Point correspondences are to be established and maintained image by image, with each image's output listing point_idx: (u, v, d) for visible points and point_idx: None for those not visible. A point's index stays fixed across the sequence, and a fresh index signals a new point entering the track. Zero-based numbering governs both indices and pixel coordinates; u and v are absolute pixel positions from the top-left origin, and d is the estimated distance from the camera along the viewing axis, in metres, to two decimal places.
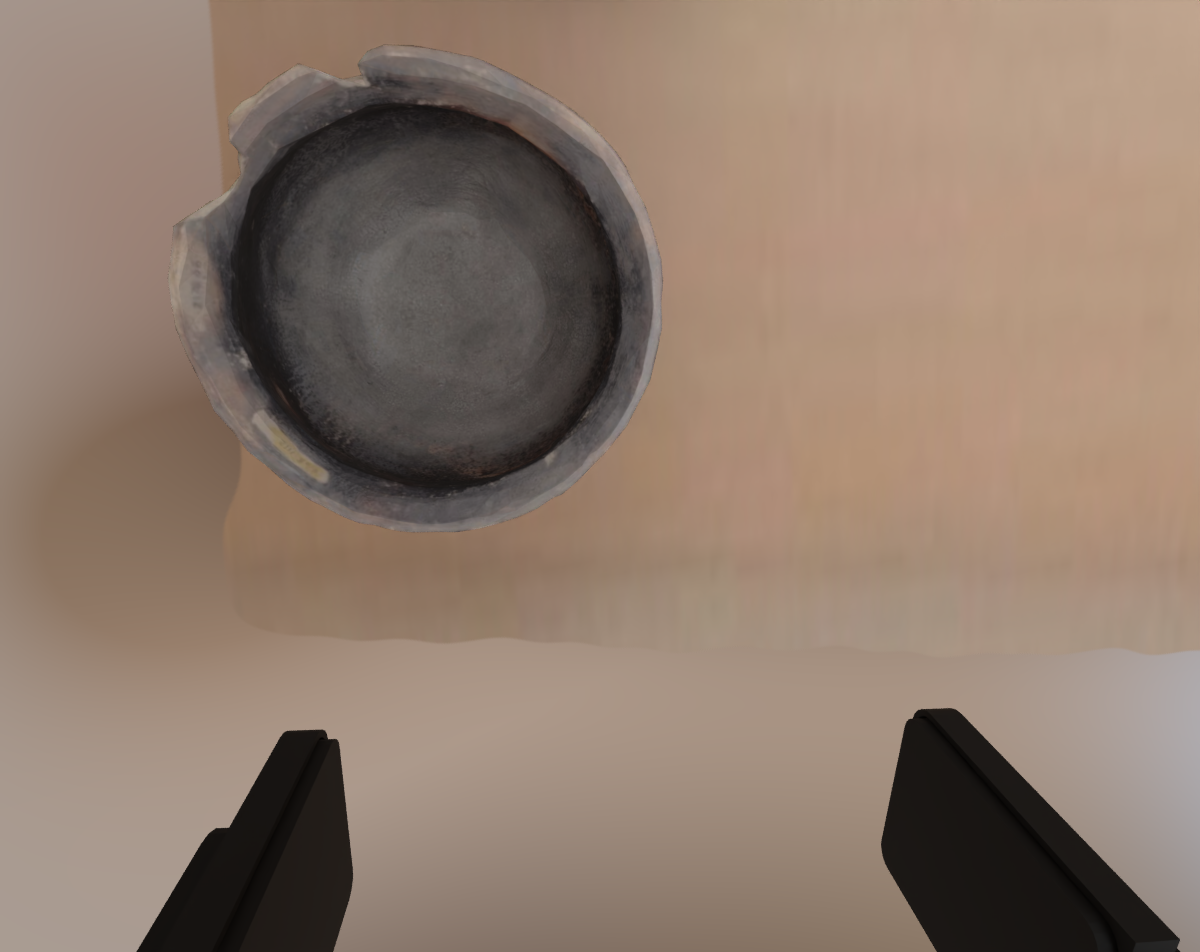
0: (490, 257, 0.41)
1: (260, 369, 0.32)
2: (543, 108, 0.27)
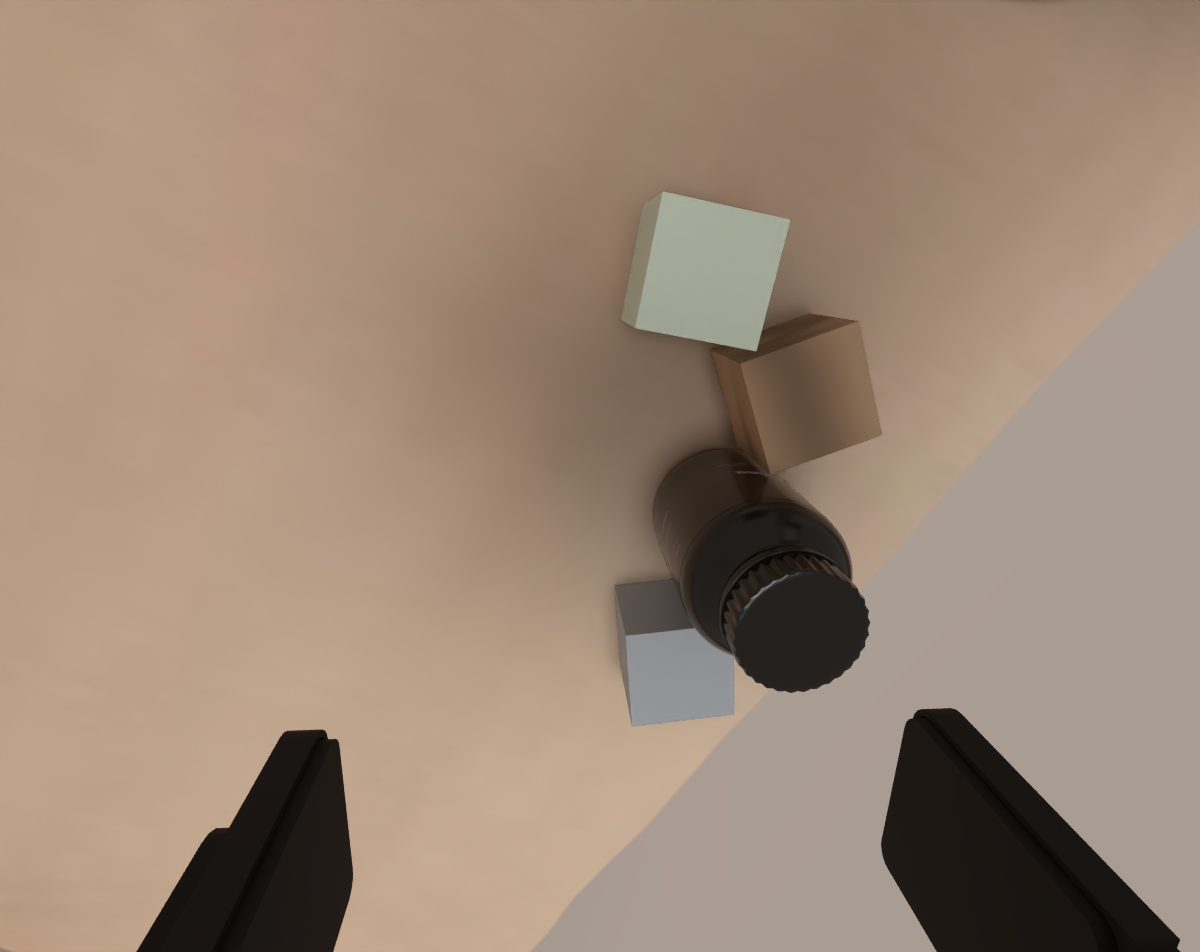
0: None
1: None
2: None
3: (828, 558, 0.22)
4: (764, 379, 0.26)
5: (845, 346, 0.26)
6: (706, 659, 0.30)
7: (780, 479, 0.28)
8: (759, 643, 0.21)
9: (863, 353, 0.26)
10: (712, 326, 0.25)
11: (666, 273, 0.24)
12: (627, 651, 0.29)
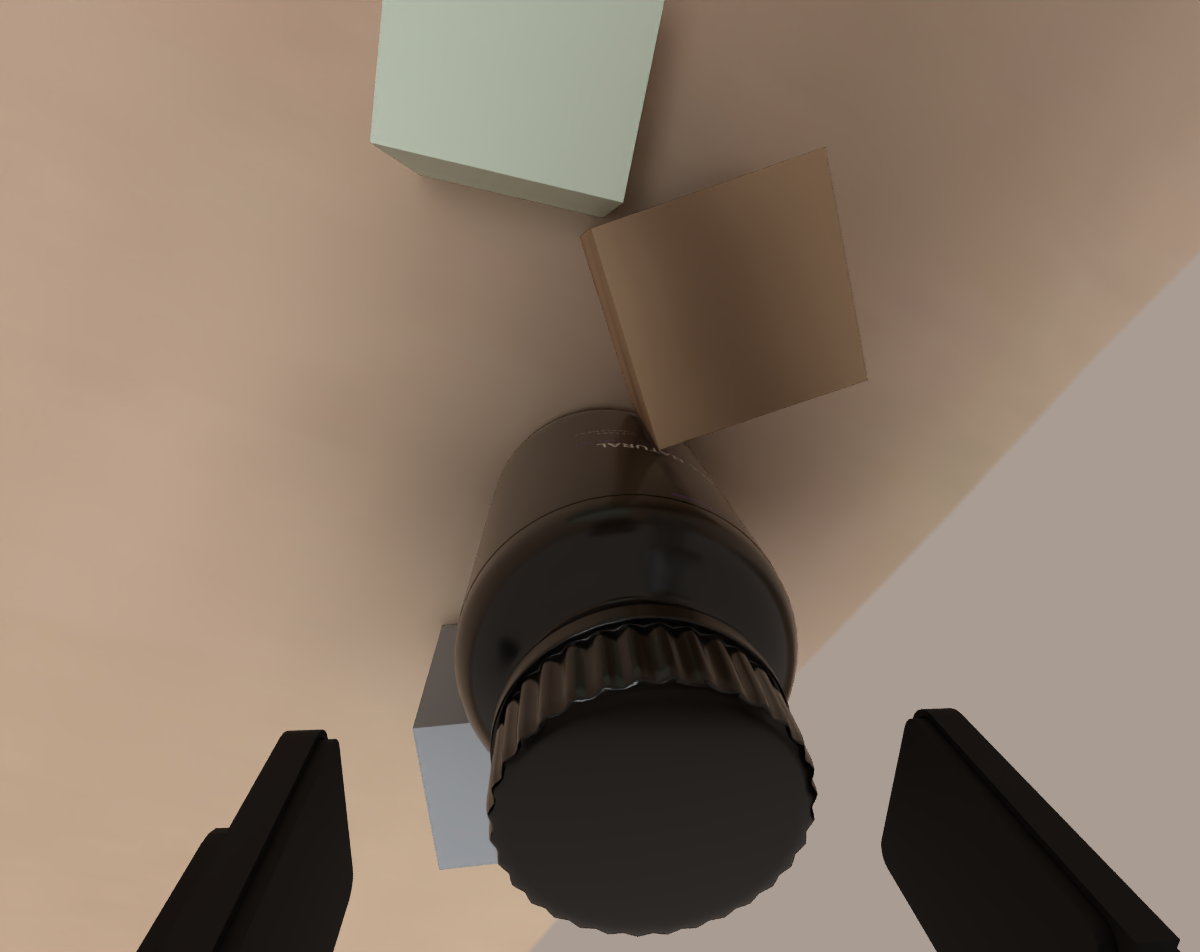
0: None
1: None
2: None
3: (730, 634, 0.10)
4: (641, 263, 0.13)
5: (799, 200, 0.13)
6: None
7: (682, 459, 0.15)
8: (552, 840, 0.09)
9: (834, 215, 0.13)
10: (529, 144, 0.12)
11: (424, 20, 0.12)
12: (419, 753, 0.17)
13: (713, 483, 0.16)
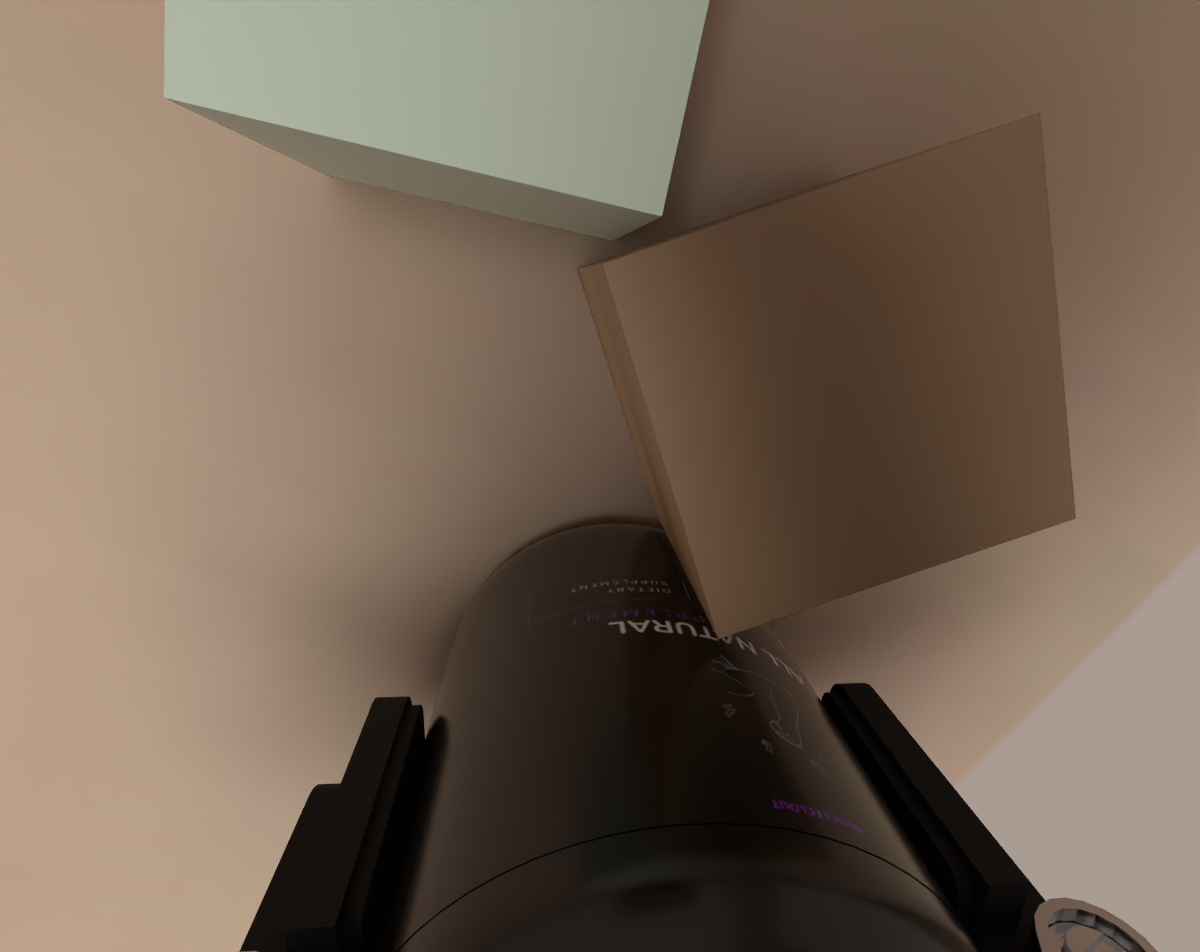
0: None
1: None
2: None
3: None
4: (695, 326, 0.07)
5: (985, 211, 0.07)
6: None
7: (751, 643, 0.09)
8: None
9: (1046, 240, 0.07)
10: (483, 104, 0.06)
11: None
12: None
13: (800, 675, 0.10)
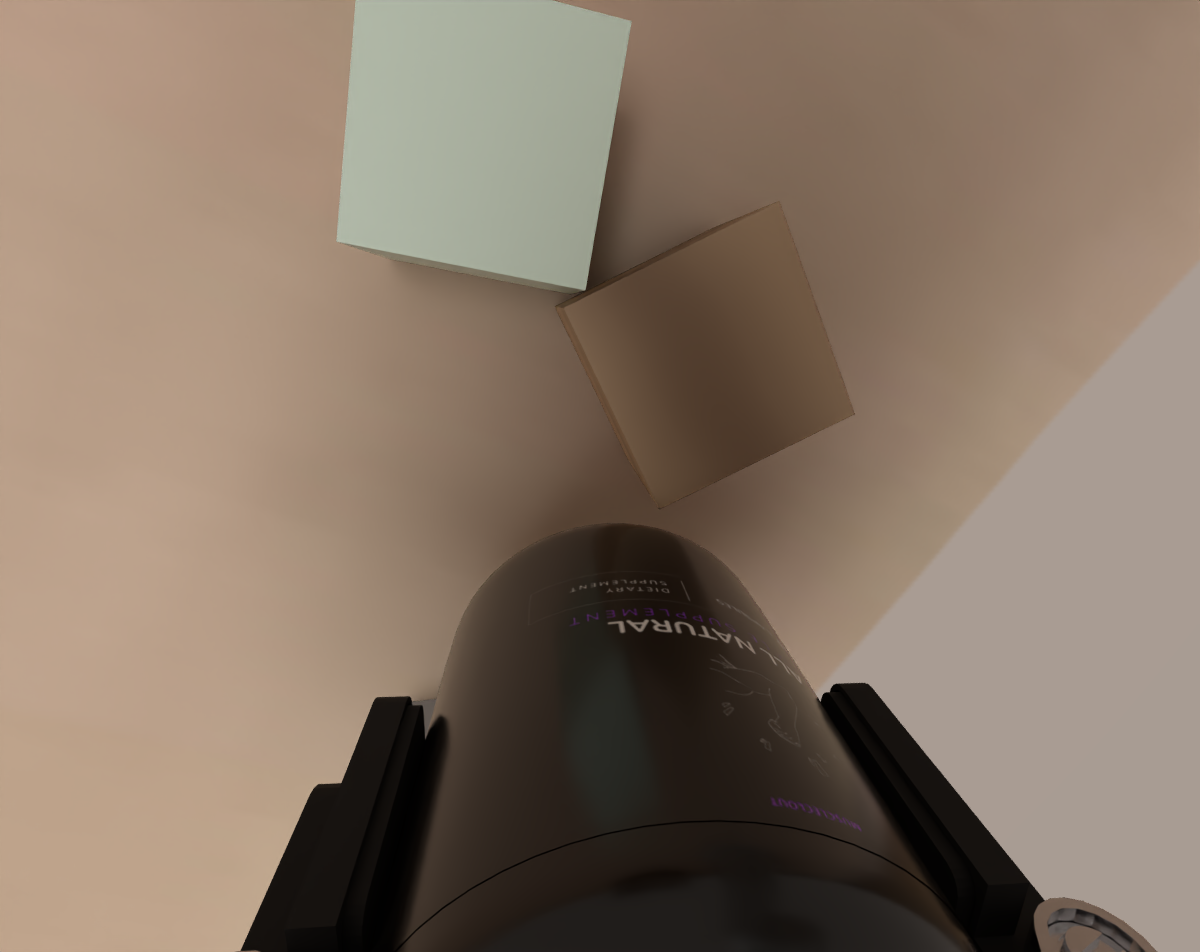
0: None
1: None
2: None
3: None
4: (617, 333, 0.14)
5: (761, 253, 0.13)
6: None
7: (750, 642, 0.09)
8: None
9: (798, 263, 0.14)
10: (492, 239, 0.13)
11: (387, 128, 0.12)
12: None
13: (799, 674, 0.10)
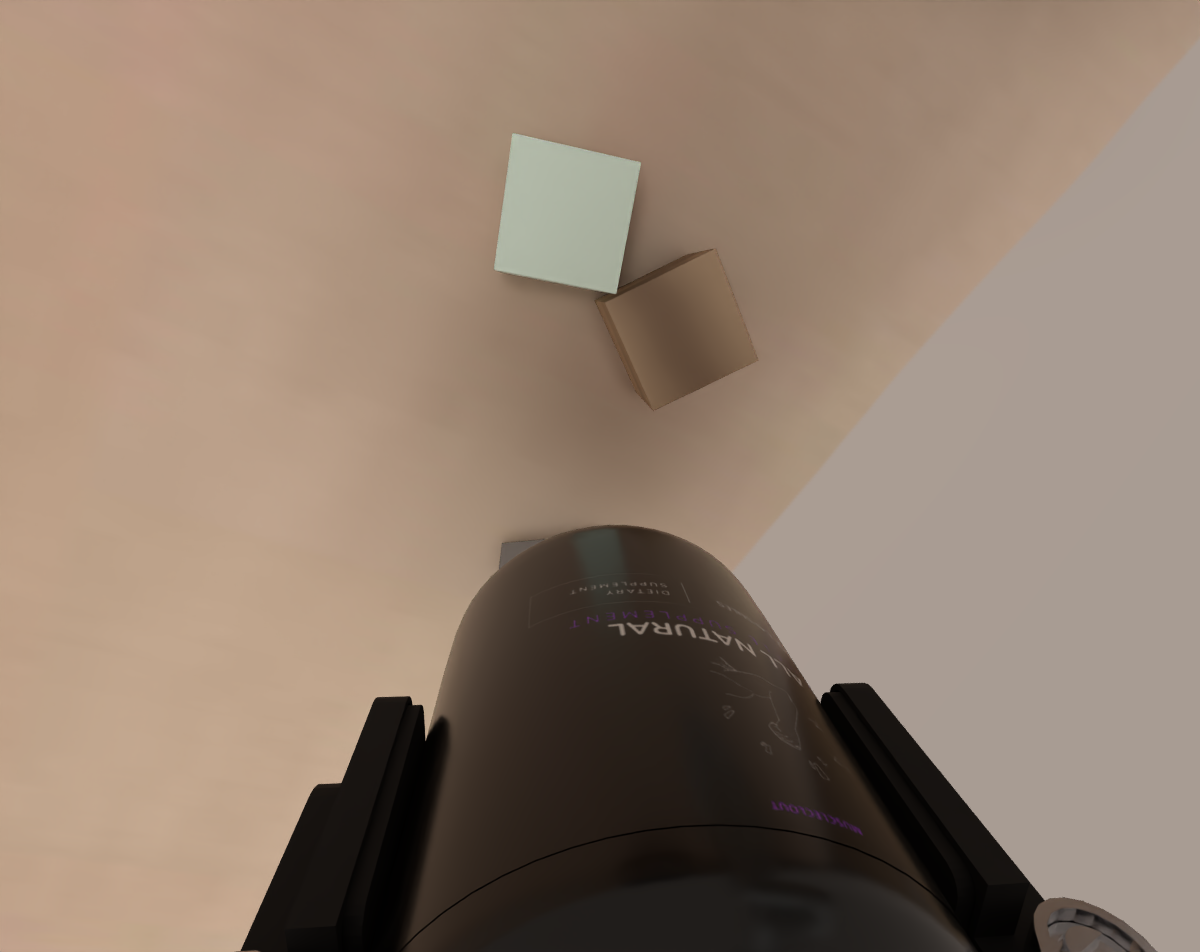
0: None
1: None
2: None
3: None
4: (632, 316, 0.26)
5: (707, 275, 0.26)
6: None
7: (750, 644, 0.09)
8: None
9: (726, 280, 0.26)
10: (570, 268, 0.26)
11: (521, 214, 0.25)
12: None
13: (799, 677, 0.10)
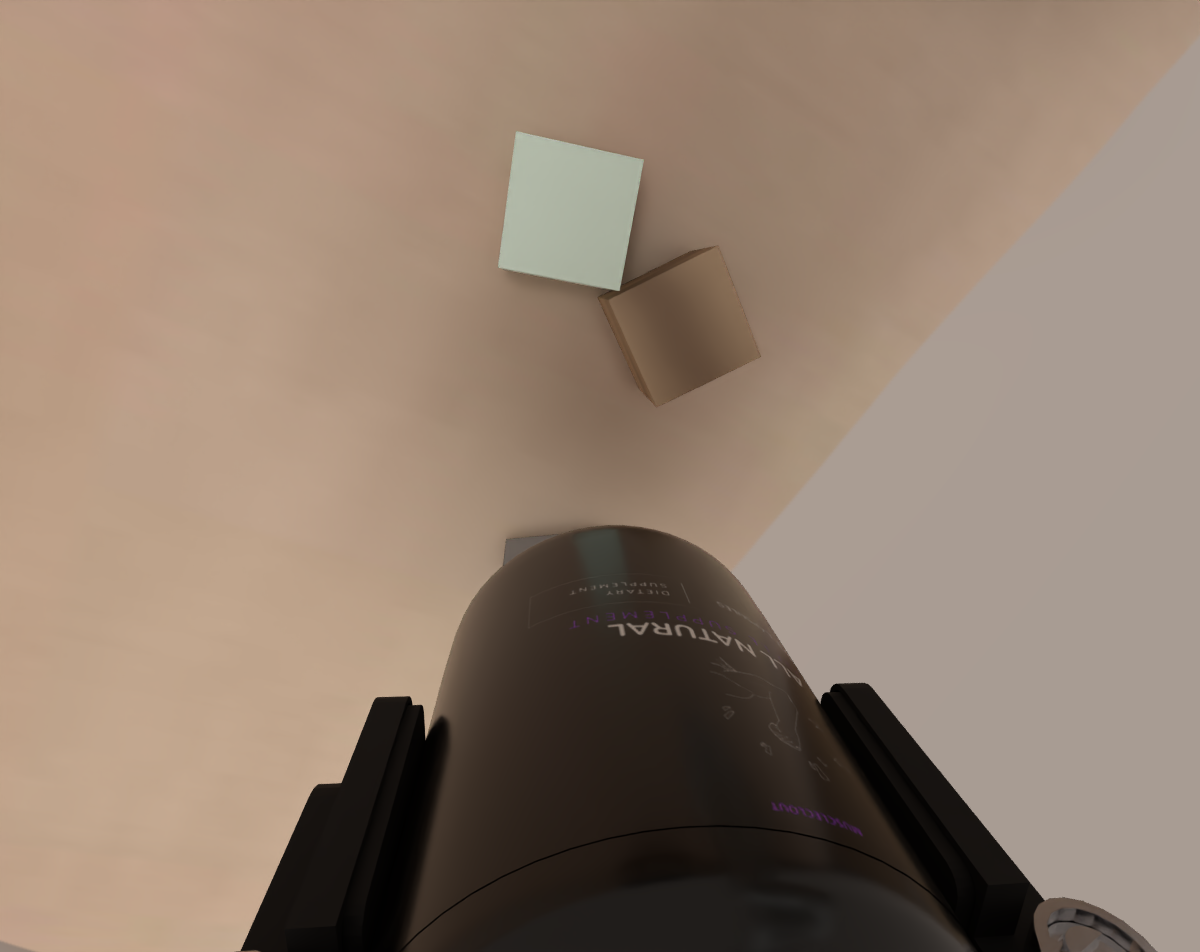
0: None
1: None
2: None
3: None
4: (635, 313, 0.26)
5: (709, 272, 0.26)
6: None
7: (750, 645, 0.09)
8: None
9: (728, 277, 0.26)
10: (574, 265, 0.26)
11: (524, 212, 0.25)
12: None
13: (799, 677, 0.10)
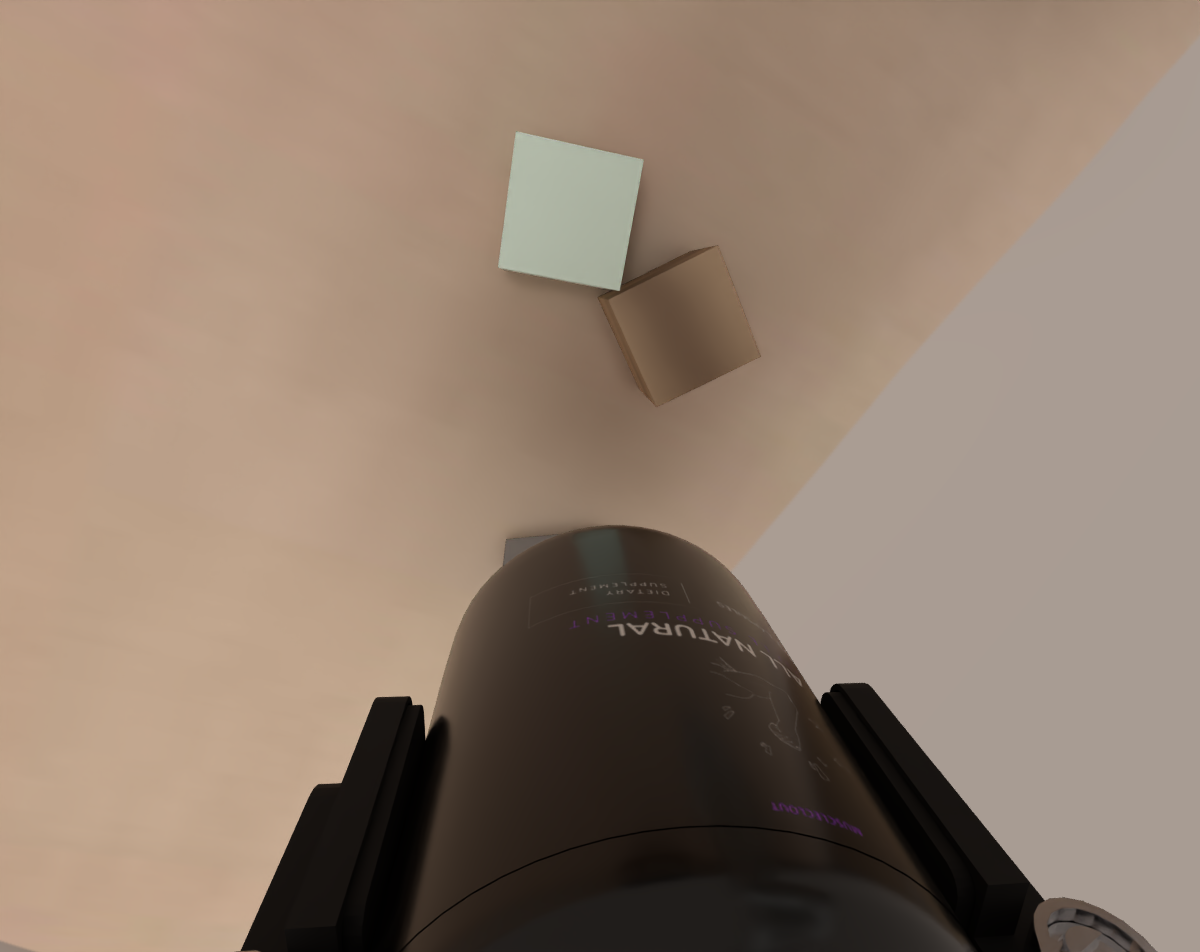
0: None
1: None
2: None
3: None
4: (635, 313, 0.26)
5: (709, 272, 0.26)
6: None
7: (750, 645, 0.09)
8: None
9: (728, 277, 0.26)
10: (574, 265, 0.26)
11: (524, 212, 0.25)
12: None
13: (799, 677, 0.10)
